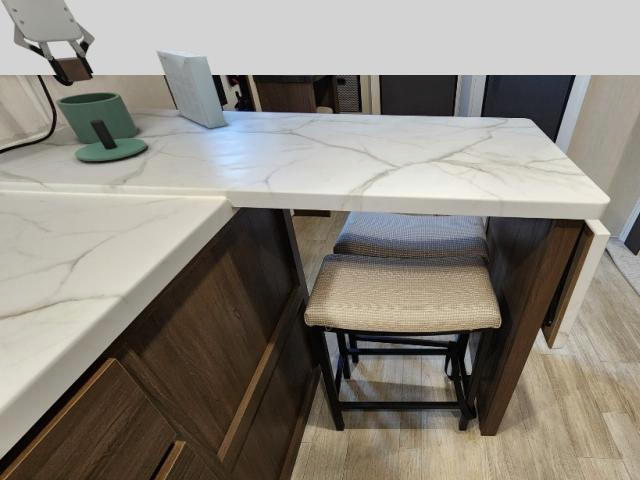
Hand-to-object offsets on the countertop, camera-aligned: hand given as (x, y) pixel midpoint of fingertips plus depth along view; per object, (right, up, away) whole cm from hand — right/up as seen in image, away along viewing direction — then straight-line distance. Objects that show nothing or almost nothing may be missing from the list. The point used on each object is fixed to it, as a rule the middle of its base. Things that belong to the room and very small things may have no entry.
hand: (77, 78), depth 77 cm
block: (0, 0, 0) cm, 0 cm away
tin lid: (+9, -17, -1) cm, 19 cm away
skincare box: (+18, +1, +20) cm, 26 cm away
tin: (0, -9, +9) cm, 12 cm away
